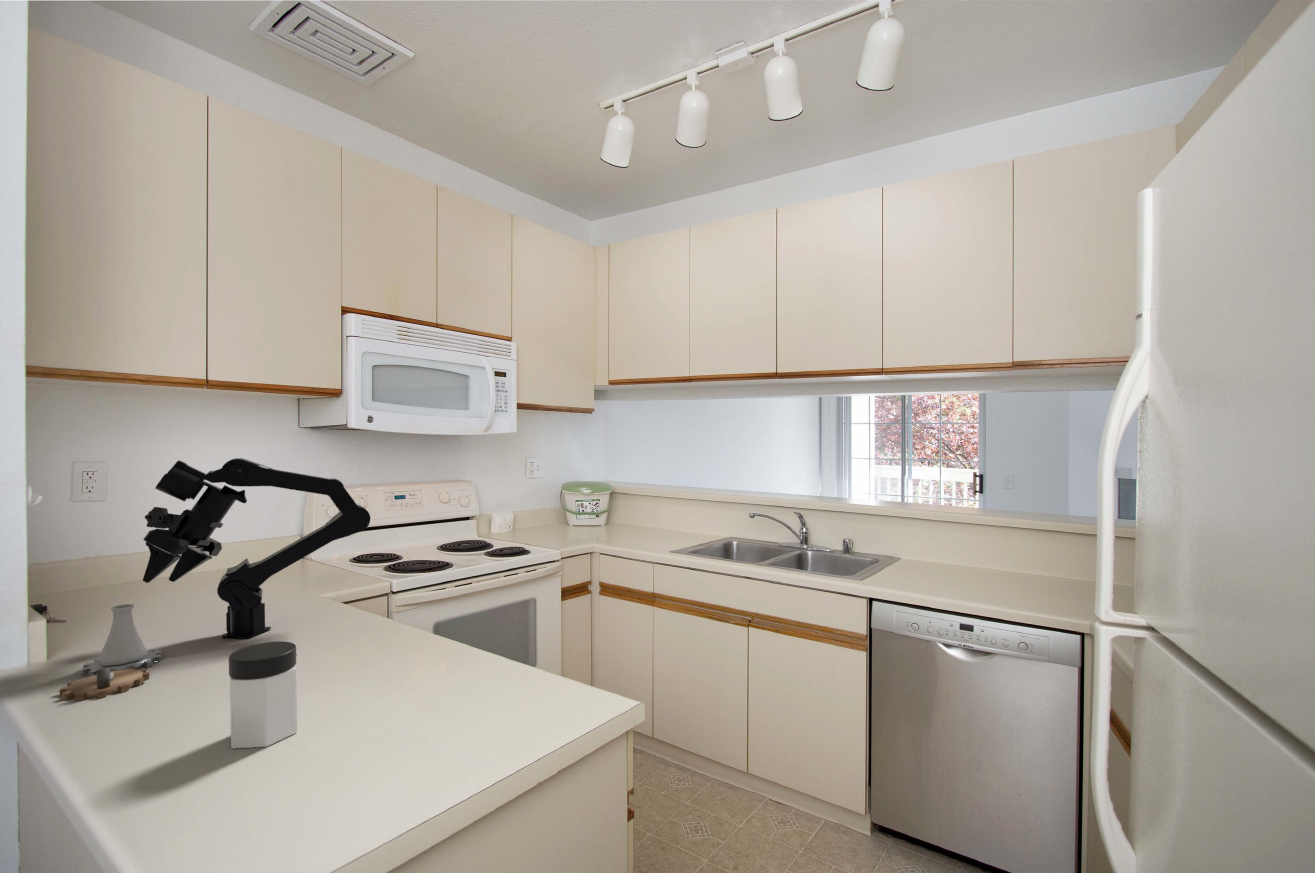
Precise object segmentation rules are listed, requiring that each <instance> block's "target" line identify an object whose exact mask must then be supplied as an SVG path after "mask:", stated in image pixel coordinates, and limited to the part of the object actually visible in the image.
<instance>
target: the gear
mask: <svg viewBox="0 0 1315 873" xmlns="http://www.w3.org/2000/svg"><path fill="white" fill-rule="evenodd" d="M146 650H147V652H148V655H147V656H145V657H144V658H142V659H141V660H137V661H133V662H129V663H125V664H121V665H110V666H100V665H99V664H98V663H97V662H98V659H99V657H98V658H97V657H96V658H95V659H93V661H92V662H87V663H85V664H83V665H82V666H83V667H82V668H81V675H82V676H87V675H88V677H89V676H93V675H97V670H98V669H101V668H106V667H109V668H110V671H111V670H114V671H117V670H124V669H126V668H133V669H134V670H136V669H137V670H139V669H138V668H141V669H142V667H148V668H150V667H149V666H151V665H152V666H153V663H152V662H154V661H160V660H161V659H163V651H161V650H158V651H156V650H155V649H153V648H150V649H146ZM161 661H162V660H161ZM161 661H160V662H161ZM152 666H151V667H152Z"/></svg>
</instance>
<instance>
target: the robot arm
mask: <svg viewBox="0 0 1315 873" xmlns="http://www.w3.org/2000/svg"><path fill="white" fill-rule="evenodd" d="M215 483H216V484H218V483H220V484H221V483H224V485H223V486H222V488H221V487H218V486H216V485H214V484H215ZM225 484H226V485H225ZM204 486H205V487H207V488H206V489H205V490H204V491H203V492H202V494H201V495H200V497H199V498H198V500H197V501H196V502H195V504H194V505H193V507H191V509H188V508H187V509H185V510H183V511H182V512H181V513H180V514H175V513H170V512H169V511H168V508H165V507H158V506H154V507H153V508H152V509H150V511H148V513H147V514H146V515H144V519H145V520H146V521H147V522H146V526H145V527H148V528H154V529H151V530H149V531H148V532H147V534H146V535H145V536H144V537H143V541H144V542H145V546H147V547H148V550H149V552H150V554H149V559H148V562H147V565H146V569H145V570H144V571H145V572H144V574H143V577H142V581H143V582H144V583H146V584H149V583H150V582H152V581H153V580H155V579H156V578H158V576H160V575H161V574H162V573H164V572H165V571H166V570H168V568H170V566H172V565H174V564H175V563H176V564H175V566H174V568H173V569H172V571H171V573H170V575H169V577H168V581H169V582H172V583H175V582H176V581H177V580H180V579H181V578H182V577H184V576H186V575H187V574H189V573H190V572H191V571H192V570H194V569H196V568H198V567H200V566H201V565H203V564H204V563H206V562H208V561H209V560H211V559H213V557H217V556H219V554H220V552H221V551H222V549H223V546H222V543H221V542H220V541H217V540H216V539H214V538H212V537H211V536H212V534H213V533H214V532H215V530H216V529H217V528H218V529H221V528H222V527H223V526H224V523H222V521H223V519H224V518H225V516H226V515H227V514H228V512H229V511H230V509H231V508H232V507H233V505H234V504H235V503H236V501H237V502H240V503H242V504H247V501H248V499H247V497H246V489H242V490H236V489H234V488H232V487H273V488H279V489H280V488H281V489H287V490H292V491H293V490H294V491H298V492H305V493H311V494H316V495H317V494H318V495H325V496H328V497H329V498H330V500H331V501H332V502H333V504H334V505H335V507H336V508H337V510H338V511H339V512H337V513H335V515H334V516H332V517H331V518H330V519H329V520H328V521H327V522H326V523H325V524H323V525H322V526H320V527H319V528H317V529H315V530H313V531H311V532H310V533H307V534H306V535H303V536H302V537H300V538H299V539H297V540H295V541H293V542H292V543H290V544H288V545H286V546H284V547H282V548H281V549H279V550H277V551H275V552H273V553H272V554H270V555H269V556H266V557H265V558H263V559H260V560H258V561H255V562H252V563H250V561H249V559H248V558H245V559H244V560H242V561H241V562H240V563H238V564H237V565H234V566H232V567H228V568H226V569H227V570H226V572H225V573H224V574H223V575H222V577H220V580H219V582H218V585H217V588H216V591H217V592H216V593H217V596H218V597H219V599H221V600H222V601H223V602H226V603H227V604H228V605H227V610H226V611H227V612H226V614H225V618H226V628H225V629H226V632H225V633H223V634H221V638H223V639H225V638H227V639H229V638H231V639H251V638H252V637H255V636H258V635H260V634H263V633H265V632H267V631H270V630H272V626H266V603H265V602H263V601H262V600H263V590H264V589H263V588H261V587H260V586H262V585H263V584H264V583H265V582H266V581H267V580H268V579H270V578H271V577H273V576H274V575H275V574H278V573H280V572H281V571H283V570H285V569H286V568H288V567H289V566H291V565H293V564H295V563H296V562H298V561H300V560H302V559H304V558H305V557H307V556H309V555H311V554H312V553H314V552H316V551H318V550H319V549H321V548H323V547H325V546H326V545H329V543H331V542H334V541H337V540H340V539H343V538H344V539H345V538H347V537H350V536H353V535H355V534H357V533H360V532H363V531H364V530H366V529H367V528H368V527H369V526H370V523H371V515H370V512H369V511H368V510H367V508H365V507H363V506H362V505H360V504H357V503H356V502H355V500H354V498H352V496H351V495H350V493H349V492H348V490H346V487H345V486H344V483H343V482H342V481H340V480H339V479H337V478H328V477H327V478H326V477H323V476H316V475H311V474H304V473H298V472H292V471H286V470H280V469H274V468H272V467H269V466H266V465H264V464H261V463H258V462H255V461H251V460H249V459H245V458H242V457H236V458H232V459H230V460H228V461H227V462H225V463H224V464H223V465H222V466H221V468H218V469H216V470H215V469H214V470H209V471H208V472H207V473H205V472H203V471H201V470H199V469H197V468H195V467H193V466H190V464H189V465H188V464H187V463H186V462H184V461H182V460H177V461H176V462H175V463H174V464H173V466H172V467H171V468H170V469H169V470H168V471H167V473H164V475H163V476H162V477H161V479H160V480H159V481H158V482H157V485H156V486H155V487H154V489H155V490H157V491H160V492H162V493H164V494H166V495H168V496H170V497H173V498H176V499H178V500H180V501H182V502H185V503H186V501H187V500H195V499H196V498H197V496H198V495H199V493H200V492H201V491H202V489H203V488H204ZM230 486H232V487H230Z"/></svg>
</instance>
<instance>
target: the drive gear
mask: <svg viewBox="0 0 1315 873" xmlns="http://www.w3.org/2000/svg"><path fill="white" fill-rule="evenodd" d="M144 679H147V680H150V671H147V668H141V669H137V670H134V669H133V668H126V669H124V670H117V671H114V670H111V671H110V668H109V667H106V668H101V669H98V670H97V675H93V676H89V675H88V676H87V677H84V678H81V679H79V680H71V681H68V682H67V684H66V686H63V687H60V688H59V696H60V697H61V699H62V700H64V701H67V700H69V699H75V702H79V701H80V702H81V701H83V702H84V701H85V700H86V699H91V698H92V699H93V698H97V699H102V698H106V697H107V696H110V695H114V694H116V693H121V694H122V693H126V692H129V691H130V689H131V688H134V687H136V686H135V685H141V684H142V683H144V684H145V680H144ZM142 685H143V684H142ZM142 685H141V686H142ZM133 686H134V687H133Z"/></svg>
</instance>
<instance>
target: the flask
mask: <svg viewBox="0 0 1315 873" xmlns="http://www.w3.org/2000/svg"><path fill="white" fill-rule="evenodd" d="M134 607H135V605H134V603H124V604H117V605H114V606H112V607H111V608H110V610H111V612H112V621H111V622H112V623H111V628H110V631H109V633H108V636H107V639H106V641H105V644H104V646H103V648H102V650H101V653H100V655H99V657H98V658H99V659H98V662H97V663H98V664H99V665H100V666H110V665H121V664H125V663H129V662H133V661H137V660H141V659H142V658H144V657H145V656H147V655H148V652H147V650H148V649H147V648H146V647H145V644H144V643H143V641H142V639H141V637H140V635H139V633H138V629H137V628H136V626H135V624H134V619H133V611H132V610H133V609H134Z"/></svg>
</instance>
